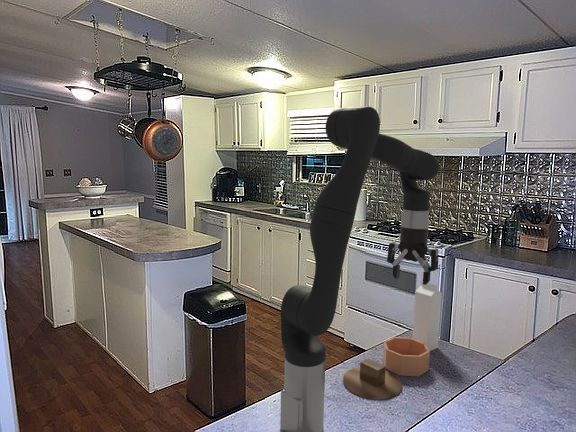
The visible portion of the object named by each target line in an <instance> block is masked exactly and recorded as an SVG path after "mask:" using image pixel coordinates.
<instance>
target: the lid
mask: <svg viewBox="0 0 576 432" xmlns="http://www.w3.org/2000/svg"><path fill="white" fill-rule="evenodd" d="M359 364H360V365H359V367H354V368H351V369H349V370H347V371H346V372H345V373H344V375H343V377H342V382H343V383H342V384H343V385H344V387H345V389H347V390H348V391H349V392H350V393H352V394H354V395H356V396H358V397H360V398H364V399H368V400H380V401H381V400H389V399H392V398H394V397H396V396H398V395H399V394H400V393H401V392H402V389H403V383H402V382H401V379H400V378H399V376H397V374H395V373H394V372H392V371H390V370H387V369H386V366H384V364H382V363H379V362H377V361H375V360H373V359H370V358H365V359H364V360H362V361H360V363H359Z"/></svg>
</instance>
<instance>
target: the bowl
mask: <svg viewBox="0 0 576 432" xmlns="http://www.w3.org/2000/svg"><path fill="white" fill-rule="evenodd" d="M382 349H383V350H382V363H383V365H384V366H386V370H387V371H389V372H391V373H393V374H395V375H398V376H404V377H405V376H406V377H408V376H409V377H420V376H422V375H424V374H425V373H426V372H428V371H429V370H430V368H429V367H430V353H431V351H429V349H428V347H427V346H426V344H425V343H422V342H420V341H417V340H415V339H413V337H395V336H393V337H391V338H389V339H386V340H385V341H383V345H382Z"/></svg>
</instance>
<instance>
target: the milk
mask: <svg viewBox="0 0 576 432" xmlns="http://www.w3.org/2000/svg"><path fill="white" fill-rule="evenodd" d="M420 283H421V284H420V286H419V287H417V289H416V290H415V294H414V307H413V308H414V309H413V310H414V311H413V322H412V323H413V325H412V339H415V340H417V341H420V342H422V343H425V344H426V346H427V347H428V349H429V351H430V352H431V351H433V350H436V349H438V348H439V338H440V337H439V336H440V325H441V324H440V323H441V309H442V295H443V294H442V292H441V291H440V290H438V285H437V284H435V283H431V282H428V283H427V284H426V285H424V284H423V280H421V282H420Z"/></svg>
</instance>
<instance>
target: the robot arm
mask: <svg viewBox="0 0 576 432" xmlns="http://www.w3.org/2000/svg"><path fill="white" fill-rule="evenodd" d="M380 129H381V119H380V115H379V113H378V111H377V110H376V109H375V108H374V107H373V106H367V105H363V106H347V107H346V106H345V107H341V108H340V107H339V108H337V109H335V110H333V111H332V112H331V113H330V114H329V115H328V117H327V119H326V121H325V134H326V137H327V139H328V140H329V142H330V143H331V144H332V145H334V146H335V147H337V148H342V149H346V152H345V154H344V155H345V156H344V159H343V161H342V163H341V165H340V167H339V169H338V170H337V172H336V173H335V174H334V175H333V177H332V178H331V179H330V180H329V181H328V183H326V185H325V186H324V188H323V189H322V191H321V192H320V193H319V195H318V196H317V198H316V199H315V200H316V201H315V204H314V207H313V211H312V215H311V220H310V224H309V235H310V240H311V241H310V242H311V247H312V251H313V256H314V263H315V270H314V277H313V282H312V286H311V287H308V286H305V285H301V284H296V285H293V286H292V287H290V288H289V289H288V290H287V291H285V294H284V295H283V297H282V300H281V306H280V333H281V334H280V336H281V338H280V340H281V346H282V347H283V351H284V377H283V378H284V381H283V382H284V383H283V384H284V387H283V389H281V390H280V414H279V415H280V417H279V419H280V422H279V424H280V429H281V430H282V431H283V432H323V431H324V425H325V424H324V421H325V418H324V417H325V390H326V389H325V388H326V387H325V383H326V358H327V353H326V352H327V351H326V350H327V349H326V346H325V344H324V343H323V341H322V340H321V339H320V338H319V336H321V335H324V334H325V333H326V332H328V330H329V329H330V327H331V326H332V324H333V320H334V318H335V314H336V310H337V305H338V298H339V292H340V291H339V290H340V283H341V277H342V270H343V266H344V262H345V257H346V252H347V248H348V244H349V239H350V237H351V234H352V230H353V225H354V221H355V217H356V215H357V214H356V212H357V210H358V209H357V207H358V203H359V199H360V195H361V193H362V188H363V184H364V181H365V179H366V174H367V171H368V168H369V165H370V163H371V159H372V158H373V159H374V160H377V161H379V162H381V163H383V164H385V165H386V166H388V167H390V168H392V169H394V170H396V171H398V173H399V178H400V183H401V188H402V191H403V192H402V194H403V204H402V212H401V217H400V218H401V221H400V230H399V231H400V232H399V243H397V242H396V241H392V242H389V244H388V249H387V257H386V262H387V263H388V264H390V265H392V276H393V278H394V279H395V280H398V279H399V278H400V272H401V265H400V264H401V263H402V262H403V261H404V260H405V261H412V262H415V263H417V262H418V264H419V266H421V267H422V269H423V272H422V273H423V274H422V281H423V284H424V285H426V284H427V283H430V281H431V273H432V272H434V271H436V270H438V269H439V248H429V247H428V237H429V227H430V213H429V212H430V211H429V209H430V197H431V195H430V191H429V190H428V189H425V188H422V187H420V186H419V185H418V183H417V181H431V180H433V179H434V178H436V177H437V175H438V173H439V171H440V170H439V169H440V164H439V161H438V159H437V158H436V156H434V155H433V154H432V153H429V152H427V151H423V150H421V149H418V148H417V149H416V148H413V147H412V146H410V145H409V144H408V143H405V142H404V141H402V140H400V139H398V138H396V137H394V136H393V137H392V136H390V135H387V134H384V133H383V134H382V133H380ZM397 250H399V253H400V254H398V256H397V257H395V256H396V251H397ZM427 254H428V256H429V257H430V263H429V260H428V258H427V257H426V255H427ZM395 258H396V259H395Z"/></svg>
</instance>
